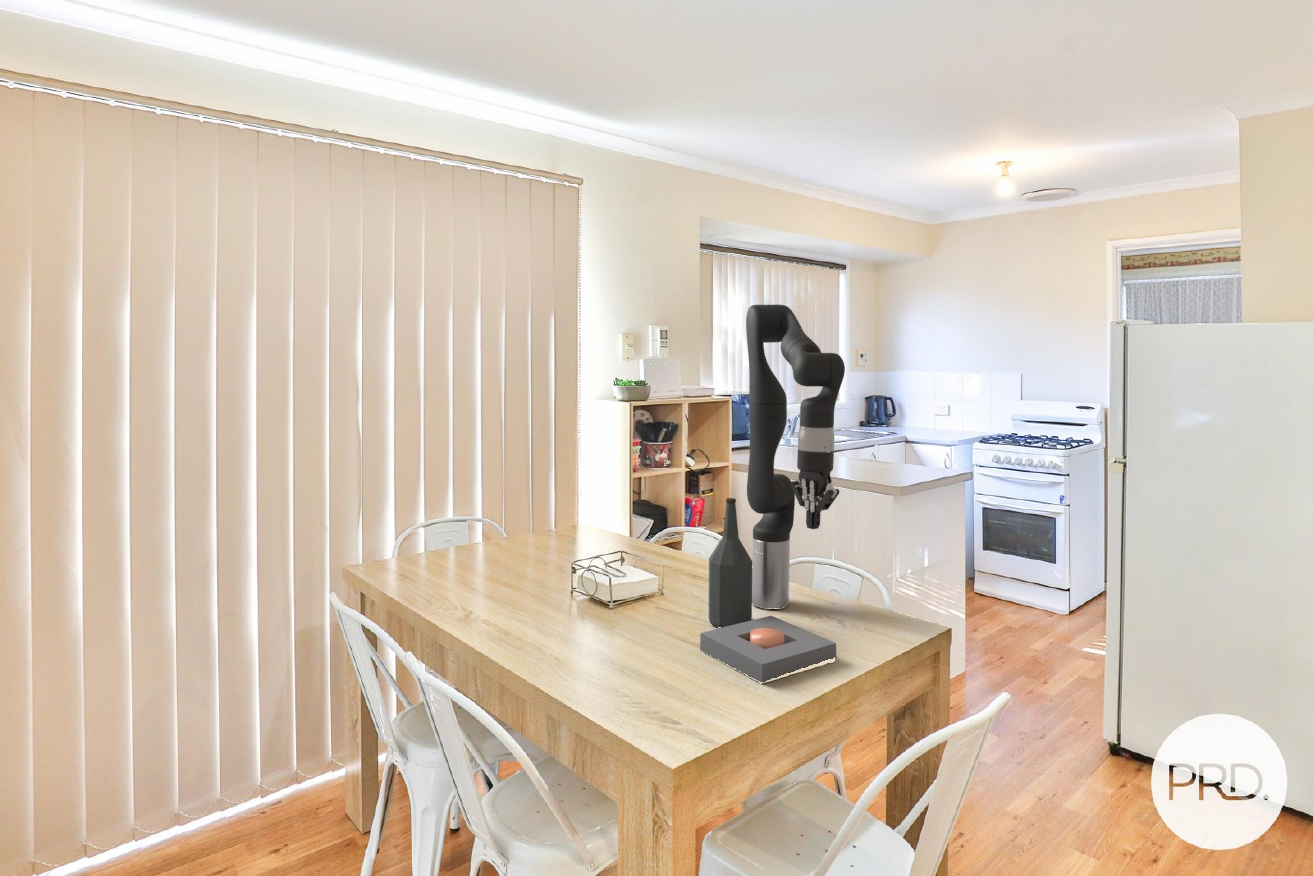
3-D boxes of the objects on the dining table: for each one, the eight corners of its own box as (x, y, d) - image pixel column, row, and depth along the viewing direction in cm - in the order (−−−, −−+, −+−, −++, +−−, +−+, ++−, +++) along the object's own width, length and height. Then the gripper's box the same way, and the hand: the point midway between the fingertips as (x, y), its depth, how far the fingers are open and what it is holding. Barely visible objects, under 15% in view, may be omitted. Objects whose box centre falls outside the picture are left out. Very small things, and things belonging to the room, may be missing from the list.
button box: (700, 651, 162) (700, 633, 161) (771, 632, 173) (771, 615, 172) (761, 684, 145) (762, 664, 145) (835, 661, 156) (836, 643, 156)
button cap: (743, 650, 160) (743, 632, 159) (768, 643, 164) (768, 625, 163) (765, 661, 154) (765, 642, 154) (790, 654, 158) (791, 635, 157)
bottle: (754, 618, 182) (756, 495, 179) (748, 632, 173) (749, 503, 170) (712, 614, 185) (713, 493, 182) (704, 628, 176) (704, 501, 172)
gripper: (781, 445, 163) (779, 524, 165) (824, 452, 152) (821, 537, 154) (807, 443, 167) (804, 520, 169) (851, 450, 156) (848, 532, 158)
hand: (812, 528), depth 161 cm, fingers closed
